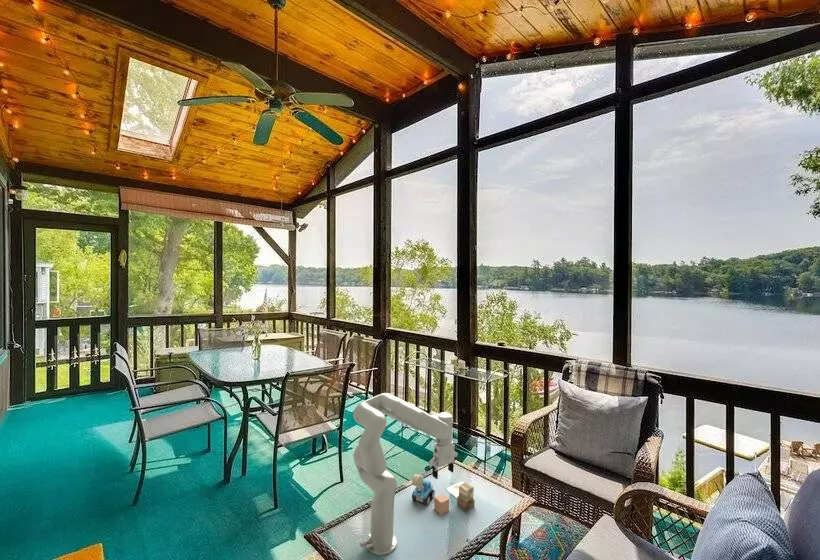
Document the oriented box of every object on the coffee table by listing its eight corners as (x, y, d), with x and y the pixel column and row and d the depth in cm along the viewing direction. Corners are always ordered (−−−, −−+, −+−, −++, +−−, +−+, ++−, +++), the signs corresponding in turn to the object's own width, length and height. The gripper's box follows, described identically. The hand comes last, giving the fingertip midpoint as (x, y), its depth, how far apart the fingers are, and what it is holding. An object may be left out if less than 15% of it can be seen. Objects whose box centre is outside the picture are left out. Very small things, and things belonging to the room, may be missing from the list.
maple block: (465, 502, 182) (466, 490, 181) (458, 497, 186) (459, 485, 185) (473, 498, 185) (473, 487, 184) (465, 493, 189) (466, 481, 188)
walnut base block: (464, 511, 181) (464, 503, 181) (457, 504, 187) (457, 496, 186) (474, 508, 184) (474, 500, 184) (467, 500, 189) (467, 493, 189)
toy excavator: (405, 509, 182) (406, 474, 180) (420, 490, 196) (421, 458, 195) (421, 515, 178) (422, 480, 176) (435, 495, 192) (436, 463, 191)
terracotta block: (440, 514, 178) (441, 502, 178) (434, 508, 182) (434, 497, 182) (448, 511, 181) (449, 499, 181) (442, 505, 185) (442, 493, 185)
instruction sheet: (456, 498, 191) (456, 497, 191) (445, 488, 198) (445, 488, 198) (473, 490, 197) (474, 489, 197) (462, 481, 205) (462, 481, 205)
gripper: (434, 448, 171) (433, 484, 173) (462, 438, 181) (461, 472, 182) (424, 441, 177) (423, 476, 179) (452, 431, 187) (451, 465, 189)
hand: (442, 474), depth 181 cm, fingers open, 9 cm apart
